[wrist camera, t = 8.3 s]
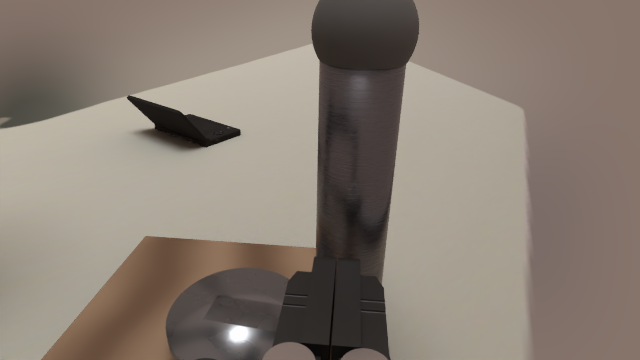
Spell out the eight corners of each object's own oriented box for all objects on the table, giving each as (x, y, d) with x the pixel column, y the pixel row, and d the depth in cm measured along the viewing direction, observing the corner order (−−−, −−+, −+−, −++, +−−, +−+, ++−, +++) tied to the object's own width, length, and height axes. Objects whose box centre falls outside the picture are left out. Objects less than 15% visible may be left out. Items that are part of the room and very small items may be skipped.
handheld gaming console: (249, 119, 56) (206, 67, 48) (228, 164, 53) (179, 117, 45) (188, 117, 61) (140, 71, 53) (166, 158, 58) (112, 115, 50)
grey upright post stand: (140, 377, 19) (35, -38, 11) (206, 280, 25) (166, -31, 18) (374, 424, 17) (431, -31, 10) (383, 307, 23) (422, -26, 16)
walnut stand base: (-37, 490, 16) (-53, 465, 16) (149, 252, 31) (145, 233, 30) (389, 541, 15) (393, 517, 14) (375, 269, 29) (377, 250, 29)
